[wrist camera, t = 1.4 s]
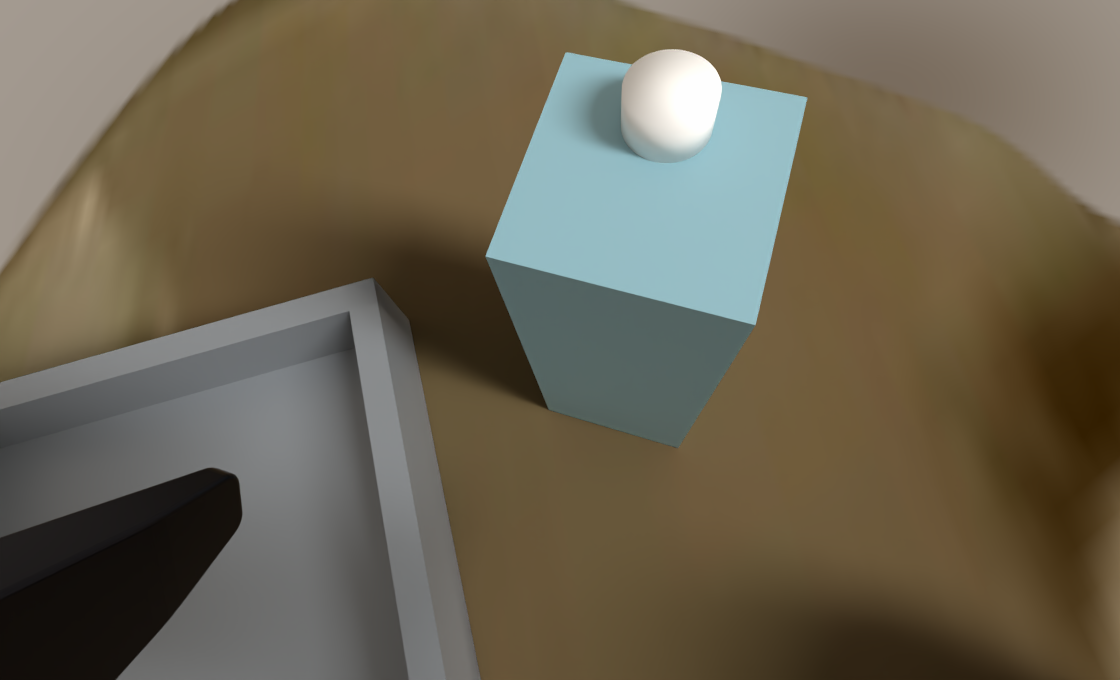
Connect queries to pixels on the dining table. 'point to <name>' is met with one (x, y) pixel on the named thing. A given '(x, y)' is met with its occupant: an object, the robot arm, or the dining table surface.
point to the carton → (643, 236)
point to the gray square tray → (266, 487)
